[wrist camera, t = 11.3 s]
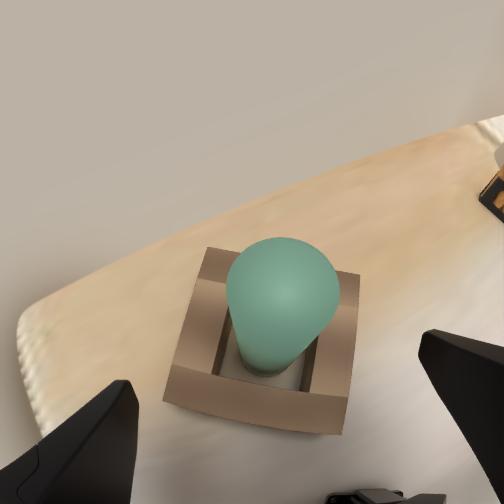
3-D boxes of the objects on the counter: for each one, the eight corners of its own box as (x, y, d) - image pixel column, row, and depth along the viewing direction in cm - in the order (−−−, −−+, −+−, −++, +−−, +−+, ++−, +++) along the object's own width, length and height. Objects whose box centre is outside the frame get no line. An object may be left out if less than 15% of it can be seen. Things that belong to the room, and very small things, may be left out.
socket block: (325, 430, 18) (341, 435, 14) (177, 401, 19) (162, 400, 15) (344, 295, 23) (360, 274, 20) (213, 271, 24) (207, 246, 21)
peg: (288, 380, 20) (333, 352, 9) (235, 370, 20) (213, 330, 9) (297, 330, 22) (343, 247, 11) (246, 320, 22) (240, 229, 11)
